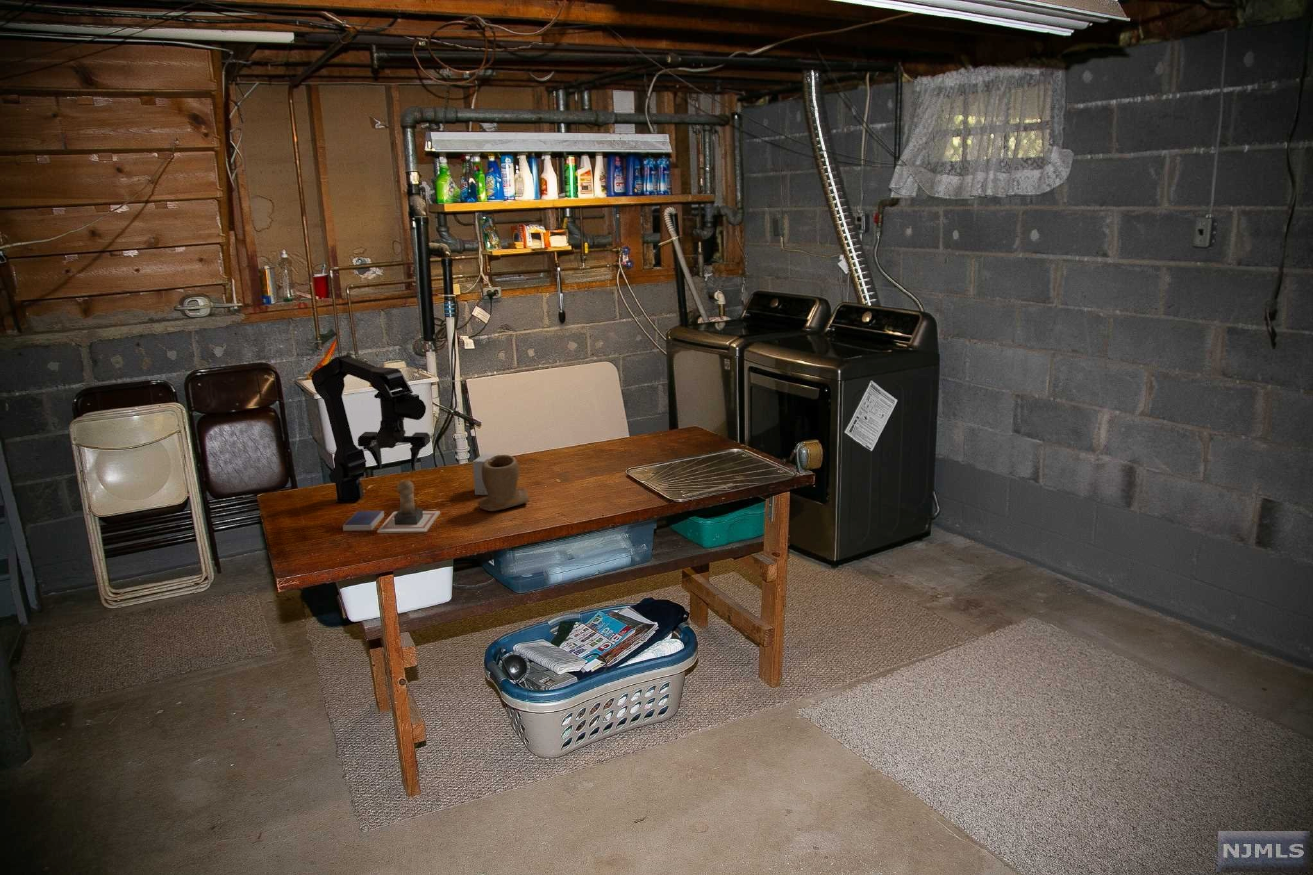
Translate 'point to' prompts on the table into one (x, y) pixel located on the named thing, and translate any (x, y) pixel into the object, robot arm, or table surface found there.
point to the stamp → (407, 506)
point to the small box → (480, 474)
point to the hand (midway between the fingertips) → (396, 468)
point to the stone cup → (501, 484)
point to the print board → (420, 527)
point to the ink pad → (363, 520)
